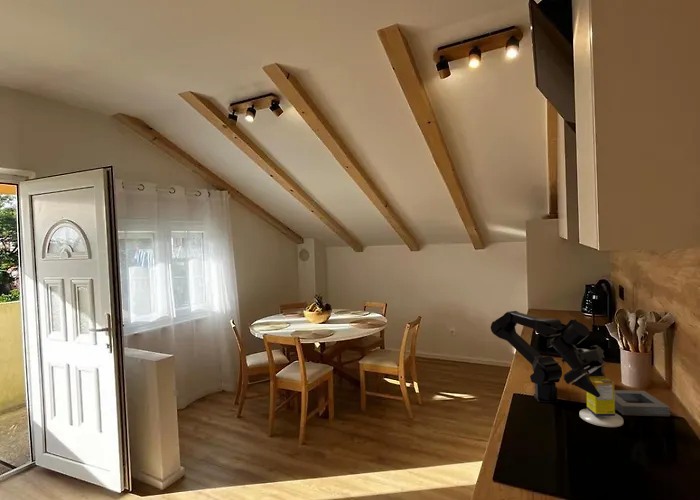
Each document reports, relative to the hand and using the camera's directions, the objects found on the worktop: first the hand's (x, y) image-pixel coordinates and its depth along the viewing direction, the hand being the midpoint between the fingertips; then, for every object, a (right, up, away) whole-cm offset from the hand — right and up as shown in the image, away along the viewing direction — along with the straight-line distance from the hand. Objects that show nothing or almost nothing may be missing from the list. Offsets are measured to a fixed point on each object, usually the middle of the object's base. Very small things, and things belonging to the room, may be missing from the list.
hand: (604, 393), depth 127 cm
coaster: (0, -9, +1) cm, 9 cm away
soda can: (+12, -8, +33) cm, 36 cm away
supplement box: (-1, -7, +1) cm, 7 cm away
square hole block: (+16, -8, +9) cm, 20 cm away
